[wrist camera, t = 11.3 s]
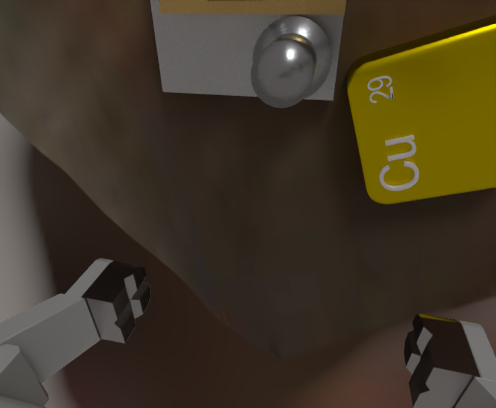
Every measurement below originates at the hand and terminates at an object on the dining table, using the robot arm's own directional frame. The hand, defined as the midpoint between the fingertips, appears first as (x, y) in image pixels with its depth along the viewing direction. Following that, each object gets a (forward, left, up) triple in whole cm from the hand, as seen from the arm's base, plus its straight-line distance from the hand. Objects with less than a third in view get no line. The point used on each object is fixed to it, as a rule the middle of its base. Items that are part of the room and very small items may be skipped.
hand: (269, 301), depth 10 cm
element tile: (-12, +3, -31) cm, 33 cm away
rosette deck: (+7, -8, -30) cm, 32 cm away
